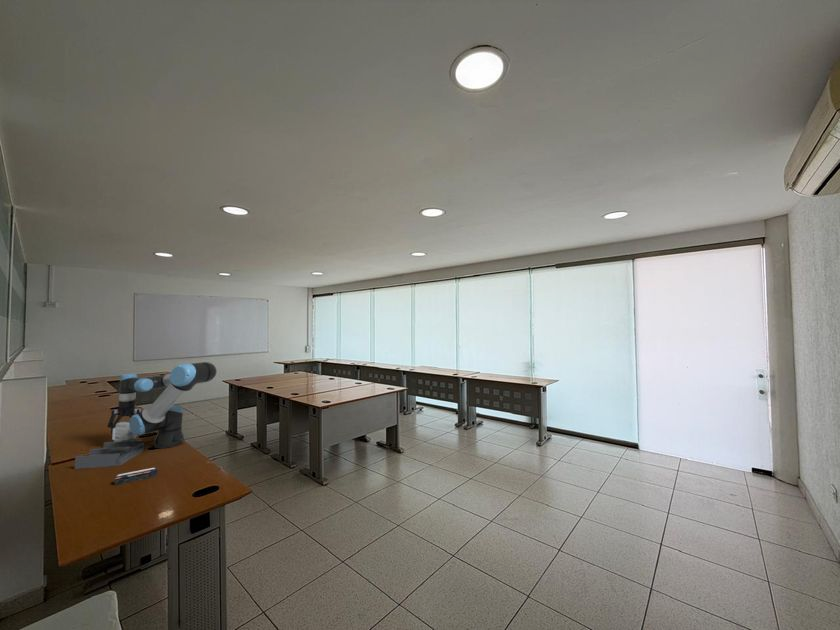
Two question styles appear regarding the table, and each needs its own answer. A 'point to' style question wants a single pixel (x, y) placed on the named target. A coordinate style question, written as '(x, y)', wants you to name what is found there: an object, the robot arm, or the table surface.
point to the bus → (135, 476)
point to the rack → (110, 454)
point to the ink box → (123, 432)
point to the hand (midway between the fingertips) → (124, 438)
